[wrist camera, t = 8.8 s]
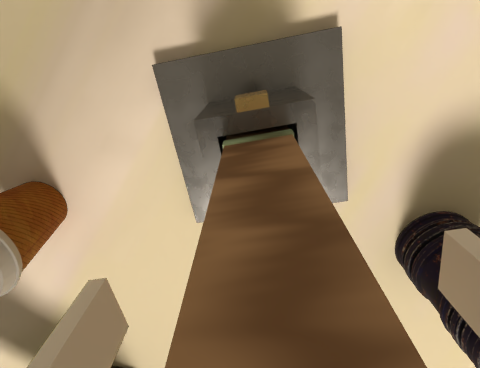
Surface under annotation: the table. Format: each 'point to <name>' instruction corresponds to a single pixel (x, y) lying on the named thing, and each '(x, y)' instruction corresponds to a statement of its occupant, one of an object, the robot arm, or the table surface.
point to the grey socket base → (258, 106)
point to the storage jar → (436, 271)
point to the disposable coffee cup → (26, 227)
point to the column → (281, 273)
